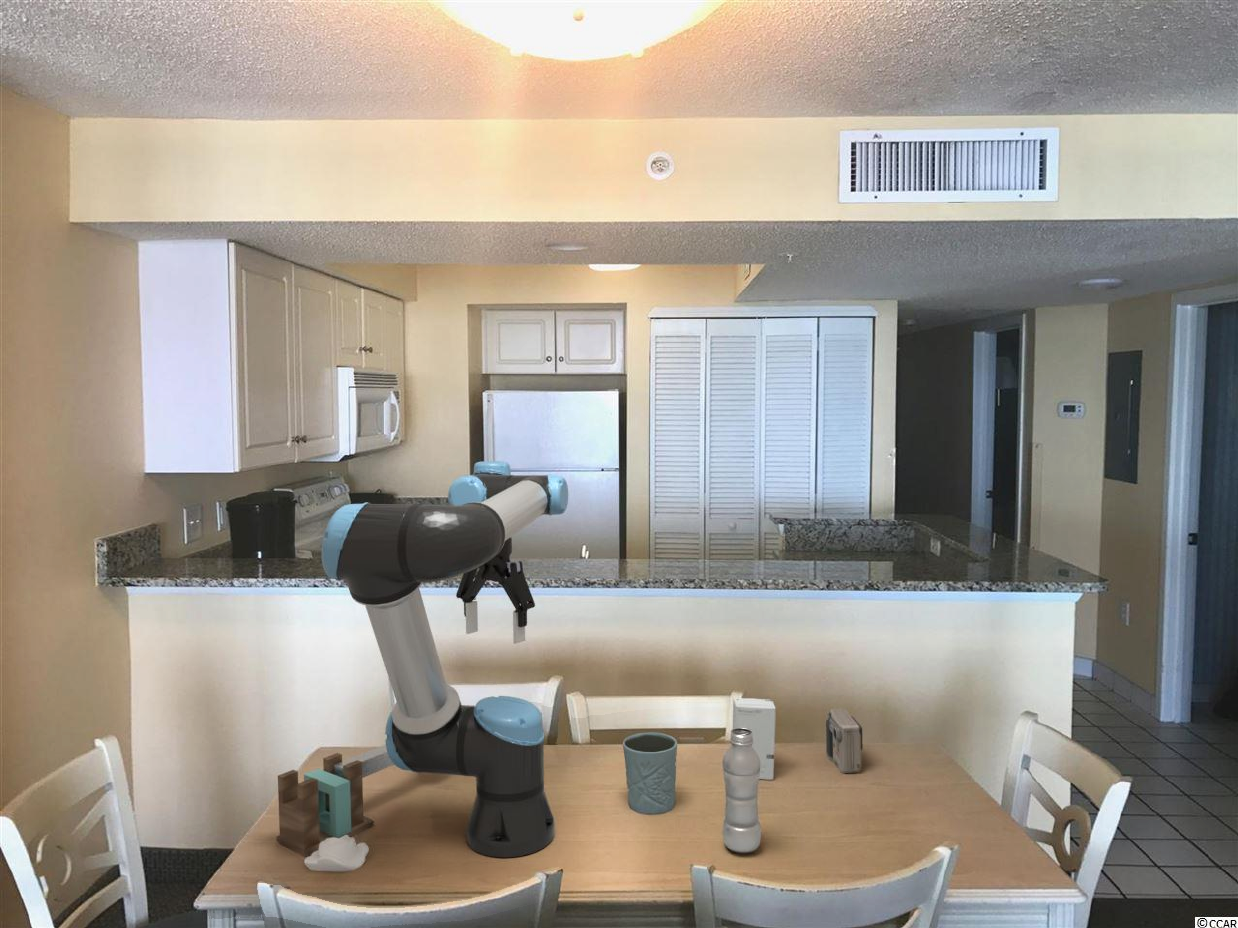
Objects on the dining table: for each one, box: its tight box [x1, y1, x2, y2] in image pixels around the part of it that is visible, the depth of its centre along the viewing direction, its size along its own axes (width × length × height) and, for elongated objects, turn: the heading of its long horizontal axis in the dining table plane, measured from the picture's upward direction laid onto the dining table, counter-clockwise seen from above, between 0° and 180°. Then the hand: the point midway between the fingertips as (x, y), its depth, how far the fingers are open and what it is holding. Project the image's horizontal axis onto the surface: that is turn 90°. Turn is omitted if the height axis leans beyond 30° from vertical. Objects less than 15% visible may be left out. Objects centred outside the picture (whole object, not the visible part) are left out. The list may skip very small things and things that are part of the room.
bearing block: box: [275, 752, 375, 858], centre depth 152 cm, size 14×9×12 cm, turn 144°
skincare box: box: [732, 697, 777, 781], centre depth 175 cm, size 8×6×15 cm
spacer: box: [303, 768, 351, 838], centre depth 152 cm, size 3×9×9 cm, turn 54°
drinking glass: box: [622, 731, 678, 816], centre depth 162 cm, size 10×10×12 cm
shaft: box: [334, 744, 396, 779], centre depth 164 cm, size 25×5×5 cm, turn 144°
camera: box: [825, 708, 864, 774], centre depth 180 cm, size 11×6×10 cm, turn 0°
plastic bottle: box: [721, 728, 762, 854], centre depth 145 cm, size 6×7×20 cm
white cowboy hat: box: [304, 835, 370, 872], centre depth 143 cm, size 10×4×10 cm
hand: (495, 637), depth 181 cm, fingers open, 13 cm apart
